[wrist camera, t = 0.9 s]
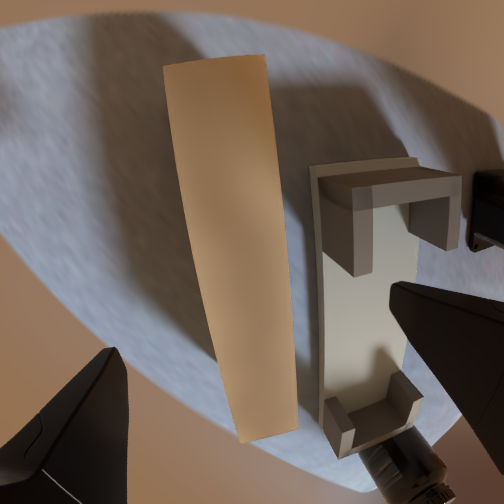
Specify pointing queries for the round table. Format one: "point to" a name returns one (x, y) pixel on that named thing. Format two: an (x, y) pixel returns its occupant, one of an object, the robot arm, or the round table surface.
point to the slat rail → (372, 288)
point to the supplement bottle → (408, 470)
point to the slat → (237, 233)
